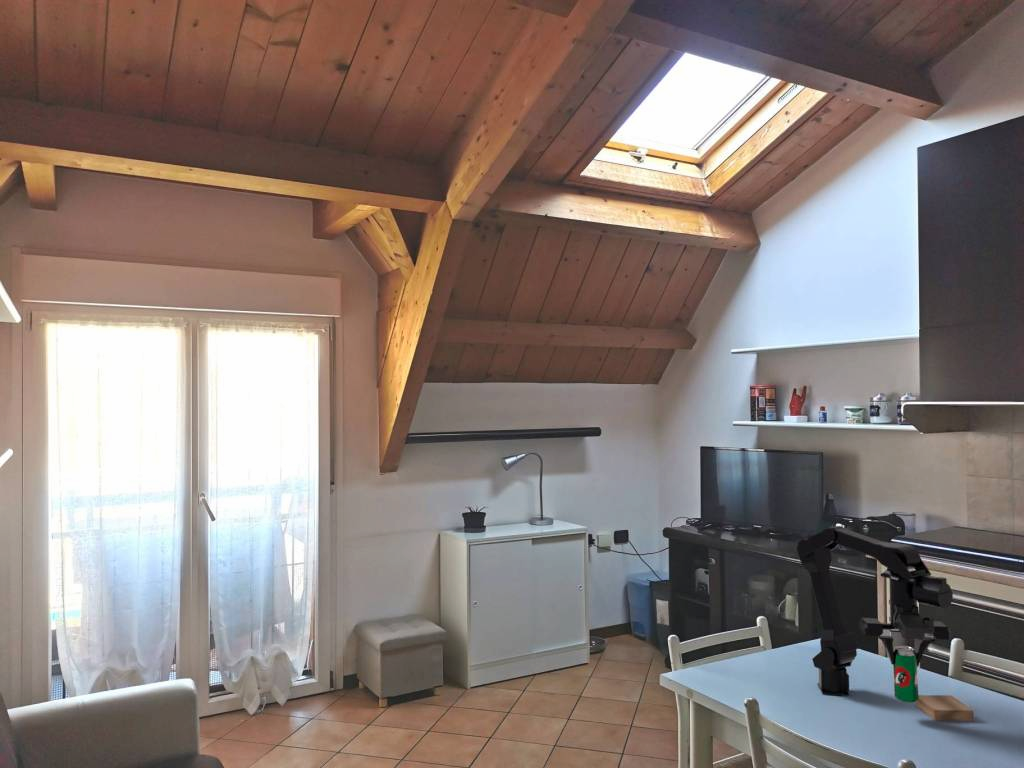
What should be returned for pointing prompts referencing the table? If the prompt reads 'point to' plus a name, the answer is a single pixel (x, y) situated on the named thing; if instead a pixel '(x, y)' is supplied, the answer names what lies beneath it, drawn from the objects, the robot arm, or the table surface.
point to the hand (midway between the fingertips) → (904, 664)
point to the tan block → (944, 708)
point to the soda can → (905, 674)
